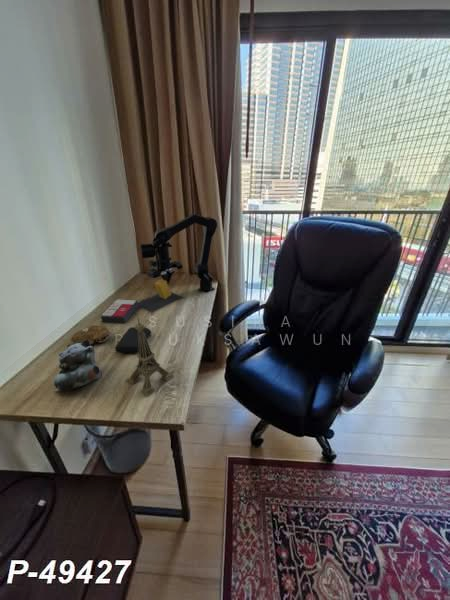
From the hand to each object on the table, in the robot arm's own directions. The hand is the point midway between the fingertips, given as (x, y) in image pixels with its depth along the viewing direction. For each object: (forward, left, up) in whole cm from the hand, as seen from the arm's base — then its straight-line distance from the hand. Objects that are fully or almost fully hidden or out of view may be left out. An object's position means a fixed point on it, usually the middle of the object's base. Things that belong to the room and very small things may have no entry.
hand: (167, 284), depth 133 cm
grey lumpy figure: (+58, +25, -7) cm, 64 cm away
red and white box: (+27, -3, -7) cm, 28 cm away
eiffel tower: (+43, +43, -7) cm, 61 cm away
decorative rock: (+44, +6, -7) cm, 45 cm away
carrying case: (+35, +22, -7) cm, 42 cm away
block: (+2, 0, -6) cm, 6 cm away
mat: (+7, +1, -7) cm, 10 cm away
